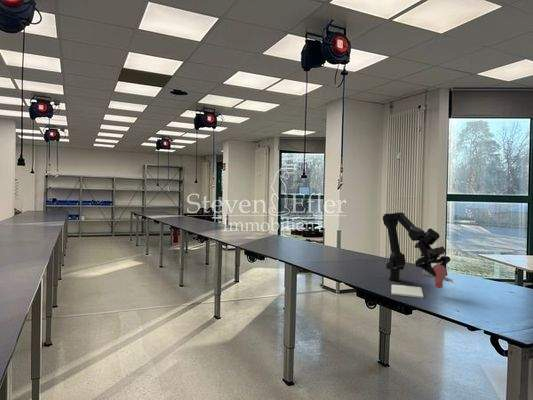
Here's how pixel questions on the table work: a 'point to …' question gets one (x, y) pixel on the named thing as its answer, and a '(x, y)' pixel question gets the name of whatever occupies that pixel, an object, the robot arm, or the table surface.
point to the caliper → (444, 278)
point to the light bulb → (439, 275)
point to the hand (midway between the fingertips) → (440, 275)
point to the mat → (407, 291)
